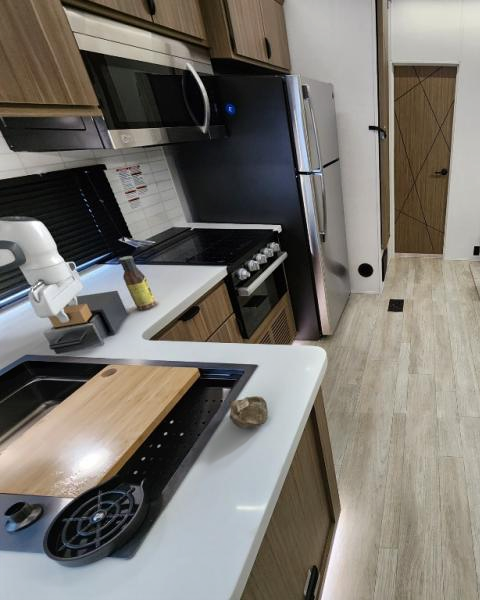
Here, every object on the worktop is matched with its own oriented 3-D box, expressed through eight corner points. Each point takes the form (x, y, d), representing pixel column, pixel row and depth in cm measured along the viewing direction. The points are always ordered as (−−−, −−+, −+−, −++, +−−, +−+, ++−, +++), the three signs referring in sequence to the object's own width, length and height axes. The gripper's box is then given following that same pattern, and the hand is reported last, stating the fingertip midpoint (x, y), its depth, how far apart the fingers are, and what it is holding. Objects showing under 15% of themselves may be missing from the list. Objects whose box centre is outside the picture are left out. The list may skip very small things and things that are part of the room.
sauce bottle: (160, 305, 127) (140, 256, 118) (142, 312, 123) (120, 262, 113) (151, 301, 130) (131, 253, 121) (133, 308, 126) (111, 258, 116)
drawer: (97, 354, 98) (85, 332, 95) (48, 364, 95) (34, 341, 91) (116, 324, 113) (107, 304, 110) (75, 331, 110) (63, 311, 106)
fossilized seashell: (224, 404, 78) (228, 439, 71) (234, 383, 76) (240, 418, 69) (255, 404, 83) (262, 437, 76) (266, 385, 81) (274, 417, 74)
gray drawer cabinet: (115, 334, 110) (102, 309, 105) (67, 342, 106) (52, 317, 101) (127, 313, 122) (117, 290, 117) (85, 320, 117) (72, 297, 113)
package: (54, 327, 97) (47, 315, 95) (61, 319, 101) (55, 308, 99) (85, 322, 100) (79, 310, 98) (92, 314, 104) (86, 303, 102)
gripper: (44, 286, 86) (69, 331, 92) (76, 260, 102) (96, 299, 109) (12, 290, 84) (40, 336, 90) (50, 263, 100) (72, 303, 107)
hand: (71, 316), depth 100 cm, fingers closed on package, 5 cm apart
